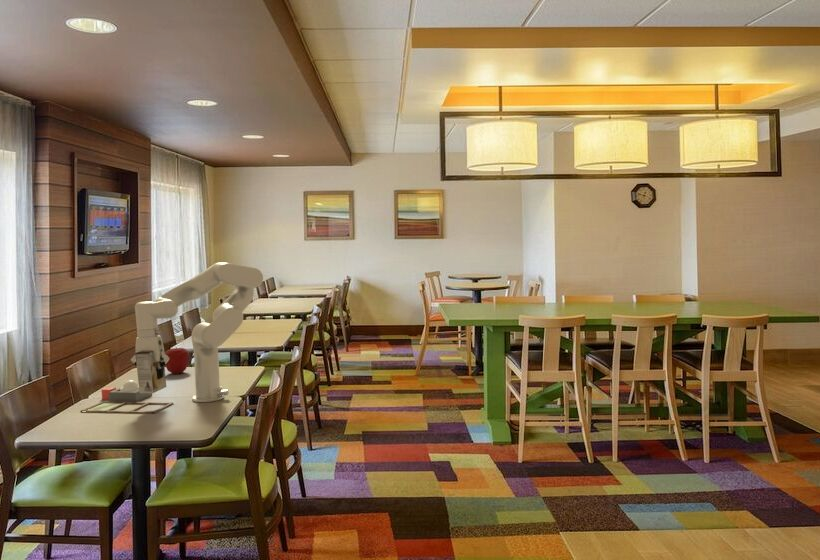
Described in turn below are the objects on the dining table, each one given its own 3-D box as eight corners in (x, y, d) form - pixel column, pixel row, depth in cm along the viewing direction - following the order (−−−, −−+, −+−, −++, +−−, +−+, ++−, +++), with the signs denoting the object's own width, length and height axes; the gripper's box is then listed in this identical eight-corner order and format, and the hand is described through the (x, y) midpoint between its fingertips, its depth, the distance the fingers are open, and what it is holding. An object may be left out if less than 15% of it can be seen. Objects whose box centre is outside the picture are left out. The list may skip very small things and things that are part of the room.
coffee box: (152, 387, 262) (148, 347, 261) (166, 387, 261) (163, 347, 259) (138, 393, 253) (134, 352, 252) (153, 393, 252) (149, 352, 250)
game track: (173, 404, 263) (173, 402, 263) (154, 413, 249) (154, 412, 249) (103, 402, 268) (102, 401, 268) (80, 412, 254) (80, 410, 254)
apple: (184, 369, 332) (183, 343, 331) (193, 373, 323) (192, 346, 322) (160, 373, 324) (159, 346, 323) (169, 377, 315) (167, 349, 314)
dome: (145, 392, 278) (144, 378, 277) (134, 396, 270) (133, 382, 269) (127, 391, 279) (126, 377, 278) (116, 396, 271) (115, 382, 271)
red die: (116, 396, 278) (115, 387, 277) (110, 399, 274) (110, 389, 273) (107, 396, 278) (107, 386, 278) (102, 399, 274) (101, 389, 274)
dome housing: (152, 395, 279) (151, 385, 279) (136, 402, 268) (135, 392, 267) (126, 394, 281) (125, 385, 281) (109, 401, 269) (108, 392, 269)
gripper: (173, 331, 257) (177, 375, 259) (132, 332, 260) (137, 376, 262) (163, 334, 250) (167, 380, 251) (121, 335, 253) (126, 381, 254)
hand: (151, 377), depth 256 cm, fingers closed on coffee box, 6 cm apart
